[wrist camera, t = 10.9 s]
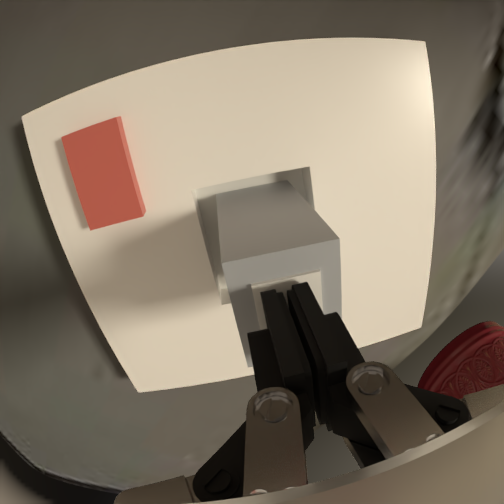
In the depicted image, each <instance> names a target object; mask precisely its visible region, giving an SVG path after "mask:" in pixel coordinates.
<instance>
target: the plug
mask: <svg viewBox="0 0 504 504" xmlns="http://www.w3.org/2000/svg"><path fill="white" fill-rule="evenodd" d="M216 202H217V215H218V229H219V241H220V254H221V264H222V268H223V272H224V276H225V280H226V284H227V288H228V292H229V296H230V300H231V304H232V308H233V312H234V316H235V320H236V324H237V328H238V332H239V335H240V339H241V343H242V347H243V351H244V354H245V358H246V362H247V366H248V368H249V367H253V364H252V359H251V353H250V348H249V342H248V337H247V333H249V332H254V331H259V330H263V329H267V325H266V320H265V315H264V310H263V305H262V300H261V294H260V292H263V291H268V290H272V289H276V292H277V293H278V292H283V295H284V297H285V300H286V303H287V305H288V298H287V290H291V289H292V285H294V284H298V283H303V282H308V284H309V286H310V288H311V290H312V292H313V294H314V296H315V298H316V300H317V302H318V303H319V305H320V307H321V309H322V311H323V313H324V315H325V314H329V313H333V312H337V313H338V314H339V315H340V317H341V319H342V292H341V257H340V238H339V237H338V236H337V235H336V234H335V233H334V231H333V230H332V229H331V228H330V227H329V226H328V225H327V223H326V222H325V221H324V220H323V219H322V218H321V217H320V216H319V214H318V213H317V212H316V211H315V210H314V209H313V208H312V207H311V205H310V204H309V203H308V202H307V201H306V200H305V199H304V198H303V197H302V196H301V194H300V193H299V192H298V191H297V190H296V189H295V188H294V187H293V186H292V185H291V184H290V183H289V181H288V180H285V181H279V182H274V183H269V184H263V185H258V186H253V187H248V188H243V189H238V190H233V191H228V192H223V193H218V194H216ZM288 308H289V305H288Z"/></svg>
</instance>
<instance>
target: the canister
mask: <svg viewBox="0 0 504 504" xmlns="http://www.w3.org/2000/svg"><path fill="white" fill-rule="evenodd" d="M502 384H504V327H502V326H500V325H498V324H497V323H496V322H493V321H486V322H482V323H479V324H477V325H475V326H473V327H471V328H469V329H467V330H466V331H464V332H462V333H461V334H460V335H458V336H457V337H456V338H454V339H453V340H452V341H451V342H450V343H449V344H447V345H446V346H445V347H444V348H443V349H442V350H441V351H440V352H439V353H438V355H437V356H436V357H435V358H434V359H433V361H432V362H431V363H430V364H429V366H428V367H427V368H426V370H425V371H424V373H423V375H422V377H421V379H420V381H419V384H418V387H417V388H421V389H425V390H428V391H432V392H436V393H440V394H444V395H448V396H452V397H455V398H457V399H462V398H463V397H464V395H467V394H471V393H475V392H478V391H482V390H485V389H489V388H492V387H495V386H498V385H502Z"/></svg>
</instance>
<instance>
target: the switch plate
mask: <svg viewBox="0 0 504 504" xmlns="http://www.w3.org/2000/svg"><path fill="white" fill-rule="evenodd" d="M22 121H23V125H24V130H25V134H26V138H27V142H28V146H29V149H30V153H31V157H32V160H33V164H34V167H35V171H36V174H37V177H38V180H39V184H40V187H41V190H42V193H43V196H44V199H45V202H46V205H47V208H48V210H49V213H50V216H51V219H52V221H53V224H54V227H55V229H56V232H57V235H58V237H59V240H60V242H61V245H62V247H63V249H64V252H65V254H66V257H67V259H68V261H69V264H70V266H71V268H72V270H73V273H74V275H75V277H76V279H77V282H78V284H79V286H80V288H81V290H82V292H83V294H84V296H85V298H86V301H87V303H88V305H89V307H90V309H91V311H92V313H93V314H94V316H95V318H96V320H97V322H98V324H99V326H100V328H101V330H102V332H103V333H104V335H105V337H106V339H107V341H108V343H109V344H110V346H111V348H112V350H113V351H114V353H115V355H116V357H117V358H118V360H119V362H120V363H121V365H122V367H123V368H124V370H125V372H126V373H127V375H128V377H129V378H130V380H131V381H132V383H133V385H134V386H135V388H136V389H137V391H138V392H147V391H155V390H164V389H171V388H178V387H185V386H192V385H199V384H205V383H211V382H217V381H222V380H228V379H233V378H239V377H244V376H249V375H254V369H253V367H249V368H248V366H247V362H246V358H245V354H244V351H243V347H242V343H241V339H240V335H239V332H238V328H237V324H236V320H235V316H234V312H233V308H232V304H231V300H230V296H229V292H228V288H227V284H226V280H225V276H224V272H223V268H222V264H221V254H220V241H219V229H218V215H217V202H216V194H218V193H223V192H228V191H233V190H238V189H243V188H248V187H253V186H258V185H263V184H269V183H274V182H279V181H285V180H288V181H289V183H290V184H291V185H292V186H293V187H294V188H295V189H296V190H297V191H298V192H299V193H300V194H301V196H302V197H303V198H304V199H305V200H306V201H307V202H308V203H309V204H310V205H311V207H312V208H313V209H314V210H315V211H316V212H317V213H318V214H319V216H320V217H321V218H322V219H323V220H324V221H325V222H326V223H327V225H328V226H329V227H330V228H331V229H332V230H333V231H334V233H335V234H336V235H337V236H338V237H339V238H340V257H341V292H342V321H343V323H344V324H345V326H346V328H347V330H348V331H349V333H350V335H351V337H352V339H353V340H354V342H355V344H356V346H357V348H360V347H364V346H367V345H370V344H373V343H376V342H380V341H383V340H386V339H389V338H392V337H395V336H398V335H401V334H404V333H407V332H409V331H412V330H415V329H418V328H421V325H422V320H423V314H424V308H425V302H426V296H427V289H428V282H429V274H430V266H431V256H432V246H433V234H434V220H435V198H436V144H435V122H434V108H433V97H432V87H431V78H430V70H429V63H428V56H427V50H426V44H425V42H424V41H414V40H402V39H385V38H319V39H302V40H290V41H279V42H270V43H262V44H254V45H247V46H240V47H234V48H228V49H222V50H217V51H212V52H207V53H202V54H197V55H192V56H188V57H184V58H179V59H175V60H171V61H167V62H164V63H160V64H156V65H153V66H149V67H146V68H142V69H139V70H136V71H132V72H129V73H126V74H123V75H120V76H117V77H114V78H111V79H108V80H105V81H102V82H100V83H97V84H94V85H92V86H89V87H86V88H84V89H81V90H79V91H76V92H74V93H71V94H69V95H67V96H64V97H62V98H60V99H57V100H55V101H53V102H51V103H48V104H46V105H44V106H42V107H40V108H38V109H36V110H34V111H32V112H29V113H27V114H25V115H24V116H22Z"/></svg>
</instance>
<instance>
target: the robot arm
mask: <svg viewBox="0 0 504 504" xmlns="http://www.w3.org/2000/svg"><path fill="white" fill-rule="evenodd" d="M260 294H261V300H262V305H263V310H264V315H265V320H266V325H267V329H263V330H259V331H254V332H249V333H247V337H248V342H249V348H250V353H251V359H252V364H253V369H254V375H255V380H256V386H257V391H258V392H257V393H256V394H255V395H254V396H252V398H251V399H250V401H249V402H248V405H247V412H246V421H245V422H244V423H243V424H242V425H241V426H240V428H239V429H238V430H237V431H236V432H235V433H234V434H233V435H232V436H231V437H230V438H229V439H228V440H227V441H226V443H225V444H224V445H223V446H222V447H221V448H220V449H219V450H218V451H217V452H216V453H215V454H214V455H213V456H212V457H211V458H210V459H209V460H208V461H207V462H206V463H205V464H204V465H203V466H202V467H201V468H200V469H199V470H198V472H197V473H196V474H195V475H192V476H189V477H184V475H183V476H179V477H176V478H172V479H168V480H165V481H161V482H157V483H153V484H148V485H144V486H140V487H135V488H131V489H127V490H125V491H122V492H121V493H120V494H119V495H118V496H117V497H116V499H115V501H114V504H504V384H502V385H498V386H495V387H492V388H489V389H485V390H482V391H478V392H475V393H471V394H467V395H464V397H463V398H462V399H457V398H455V397H452V396H448V395H444V394H440V393H436V392H432V391H428V390H425V389H421V388H417V387H413V386H410V385H406V384H403V383H402V381H401V380H400V379H399V378H398V377H397V375H396V374H395V373H394V372H393V371H392V370H391V369H390V368H389V367H388V366H387V365H385V364H382V363H380V362H374V361H371V362H365V361H364V359H363V357H362V355H361V353H360V351H359V350H358V348H357V346H356V344H355V342H354V340H353V339H352V337H351V335H350V333H349V331H348V330H347V328H346V326H345V324H344V323H343V321H342V319H341V317H340V315H339V314H338V313H337V312H333V313H329V314H325V315H324V313H323V311H322V309H321V307H320V305H319V303H318V302H317V300H316V298H315V296H314V294H313V292H312V290H311V288H310V286H309V284H308V282H303V283H298V284H294V285H292V289H291V290H287V298H288V305H289V308H288V305H287V303H286V300H285V297H284V295H283V292H278V293H277V292H276V289H272V290H268V291H263V292H260ZM315 412H316V415H317V418H318V421H319V423H320V425H321V424H325V423H326V426H327V429H328V431H331V430H333V433H335V434H337V435H340V436H342V437H343V439H344V442H345V444H346V446H347V447H348V449H349V451H350V452H351V454H352V456H353V457H354V459H355V460H356V462H357V464H358V466H359V467H360V469H359V470H356V471H353V472H350V473H347V474H343V475H340V476H337V477H333V478H330V479H326V480H323V481H319V482H315V483H311V484H308V479H307V466H306V454H305V450H306V449H307V448H308V446H309V445H310V443H311V442H312V441H313V439H314V430H313V427H314V426H316V424H315Z"/></svg>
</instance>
